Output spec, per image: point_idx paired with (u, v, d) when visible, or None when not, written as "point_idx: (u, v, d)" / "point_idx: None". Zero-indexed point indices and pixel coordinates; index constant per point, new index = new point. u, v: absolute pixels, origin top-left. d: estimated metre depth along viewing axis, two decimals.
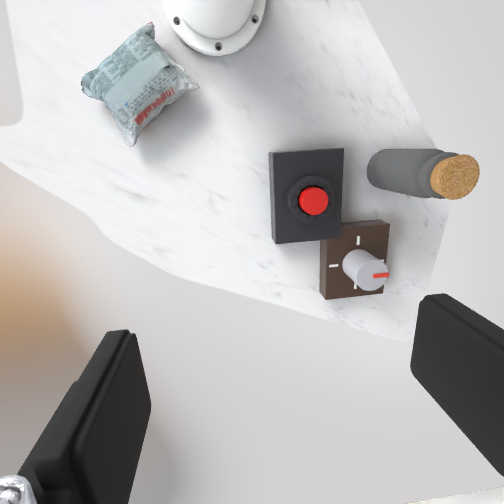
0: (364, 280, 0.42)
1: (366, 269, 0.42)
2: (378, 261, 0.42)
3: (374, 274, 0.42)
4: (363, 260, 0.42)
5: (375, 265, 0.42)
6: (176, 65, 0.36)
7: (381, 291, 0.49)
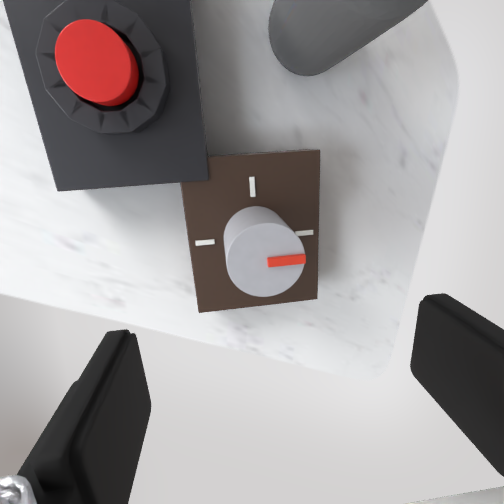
0: (248, 272, 0.18)
1: (249, 245, 0.17)
2: (277, 226, 0.17)
3: (269, 257, 0.18)
4: (245, 224, 0.18)
5: (270, 236, 0.17)
6: None
7: (313, 295, 0.25)
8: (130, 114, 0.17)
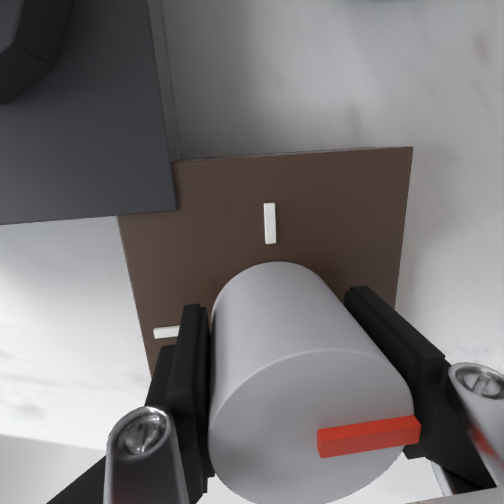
0: (265, 464, 0.07)
1: (270, 407, 0.06)
2: (349, 355, 0.06)
3: (323, 429, 0.07)
4: (258, 340, 0.07)
5: (330, 381, 0.06)
6: None
7: None
8: None
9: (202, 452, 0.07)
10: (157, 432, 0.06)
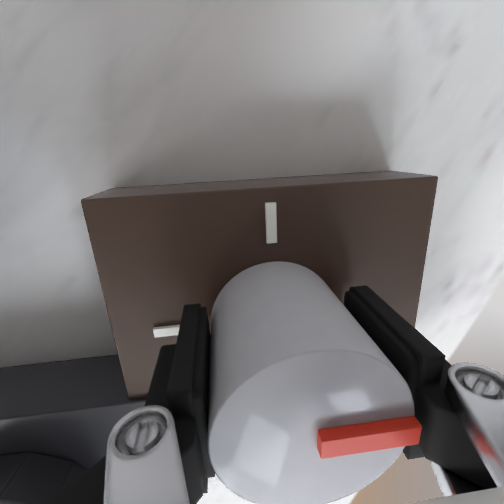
0: (265, 464, 0.07)
1: (270, 406, 0.06)
2: (351, 355, 0.06)
3: (324, 429, 0.07)
4: (259, 340, 0.07)
5: (331, 381, 0.06)
6: None
7: (426, 186, 0.10)
8: None
9: (202, 452, 0.07)
10: (157, 432, 0.06)
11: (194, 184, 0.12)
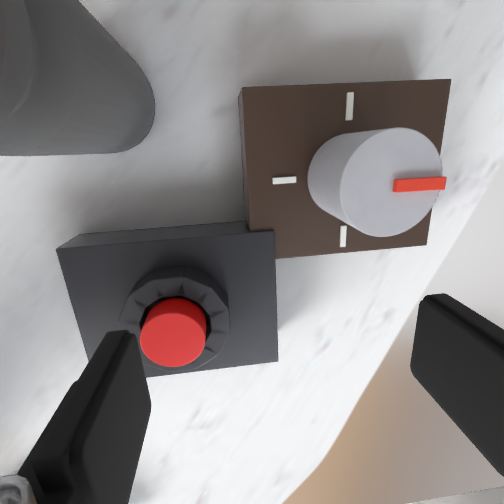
0: (366, 200, 0.13)
1: (373, 160, 0.13)
2: (413, 133, 0.13)
3: (397, 178, 0.13)
4: (364, 135, 0.13)
5: (403, 147, 0.13)
6: None
7: (444, 85, 0.17)
8: (212, 308, 0.18)
9: None
10: None
11: None
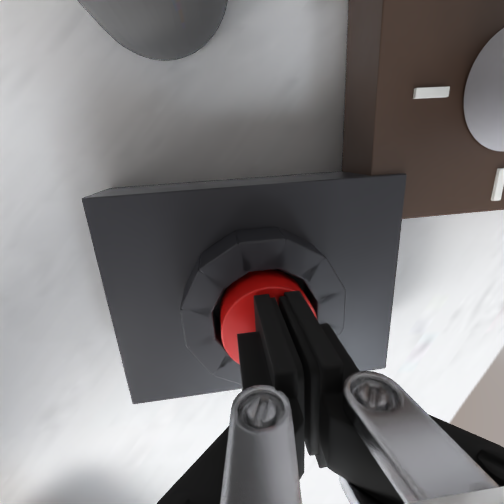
0: None
1: None
2: None
3: None
4: None
5: None
6: None
7: None
8: (323, 290, 0.11)
9: None
10: (275, 408, 0.06)
11: None
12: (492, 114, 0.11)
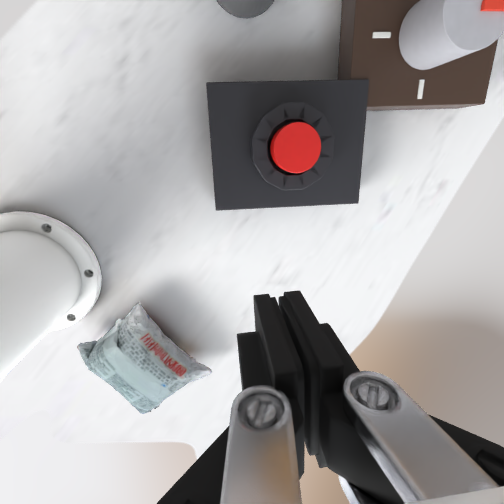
0: (460, 17, 0.18)
1: None
2: None
3: (485, 0, 0.18)
4: None
5: None
6: (116, 326, 0.30)
7: None
8: (323, 133, 0.23)
9: None
10: (275, 408, 0.06)
11: None
12: (409, 44, 0.22)
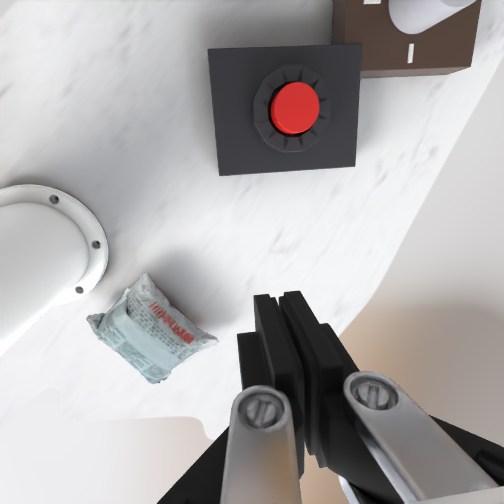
0: None
1: None
2: None
3: None
4: None
5: None
6: (125, 296, 0.30)
7: None
8: (320, 95, 0.24)
9: None
10: (275, 409, 0.06)
11: None
12: (398, 8, 0.23)
